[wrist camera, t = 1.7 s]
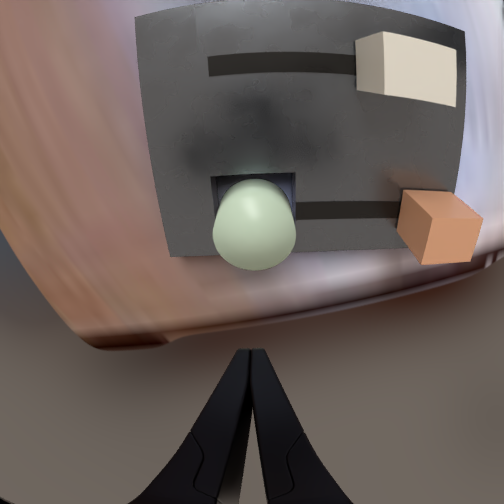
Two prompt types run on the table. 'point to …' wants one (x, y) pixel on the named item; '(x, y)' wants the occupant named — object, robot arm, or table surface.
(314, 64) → the panel
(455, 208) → the slider
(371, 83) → the slider
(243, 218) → the button
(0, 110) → the table surface
